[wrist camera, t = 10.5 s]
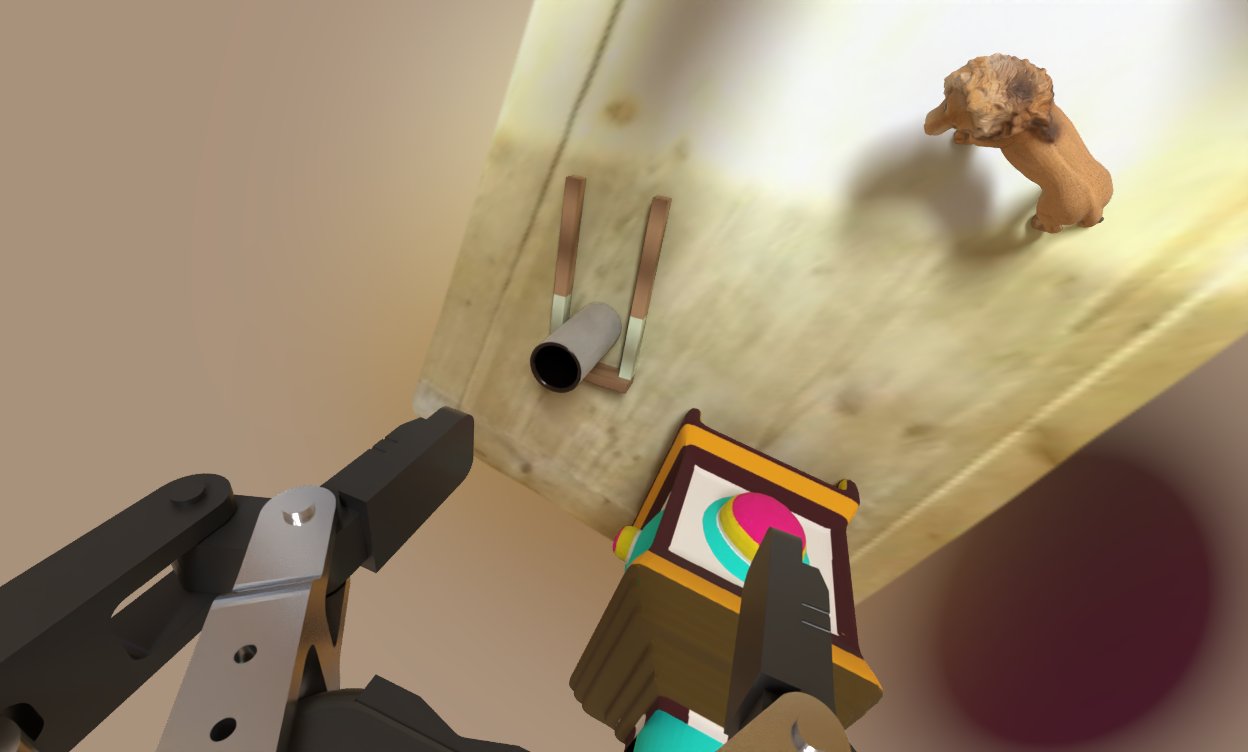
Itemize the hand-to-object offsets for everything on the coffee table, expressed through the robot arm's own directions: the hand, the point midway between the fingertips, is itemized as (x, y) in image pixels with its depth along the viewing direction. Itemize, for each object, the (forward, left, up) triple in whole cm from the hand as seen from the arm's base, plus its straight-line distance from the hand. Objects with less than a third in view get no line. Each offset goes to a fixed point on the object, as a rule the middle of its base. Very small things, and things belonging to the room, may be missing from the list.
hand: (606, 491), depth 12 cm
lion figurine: (-10, +15, -33) cm, 37 cm away
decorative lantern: (+26, +7, -33) cm, 43 cm away
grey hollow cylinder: (+11, -11, -33) cm, 36 cm away
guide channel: (+7, -11, -33) cm, 35 cm away
